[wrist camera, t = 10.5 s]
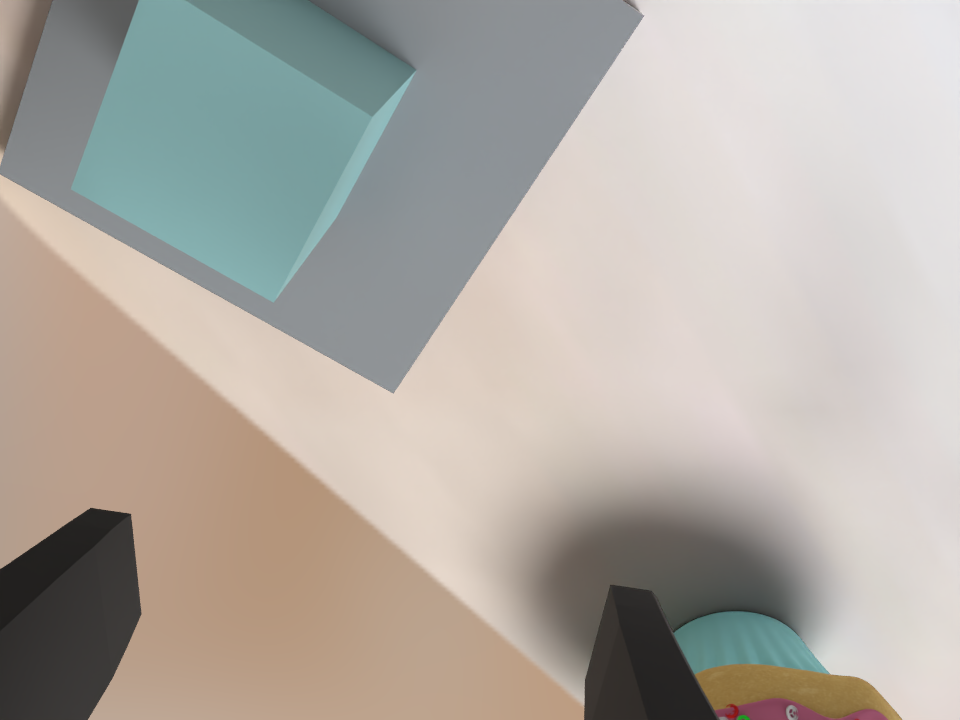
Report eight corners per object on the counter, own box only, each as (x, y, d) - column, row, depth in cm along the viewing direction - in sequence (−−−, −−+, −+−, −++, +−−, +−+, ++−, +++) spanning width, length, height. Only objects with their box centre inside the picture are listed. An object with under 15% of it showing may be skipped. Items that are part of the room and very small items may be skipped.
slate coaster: (640, 12, 18) (644, 15, 17) (398, 378, 22) (393, 393, 22) (174, -317, 16) (156, -329, 15) (17, 164, 20) (-3, 173, 20)
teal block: (416, 70, 18) (372, 116, 13) (336, 218, 20) (273, 302, 15) (251, -36, 17) (147, -24, 13) (182, 128, 19) (70, 189, 14)
